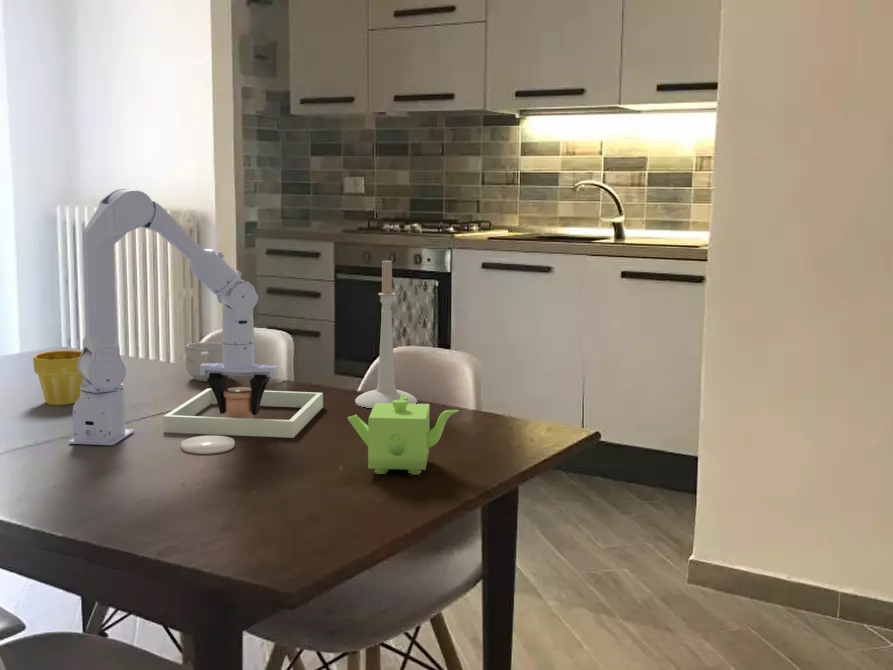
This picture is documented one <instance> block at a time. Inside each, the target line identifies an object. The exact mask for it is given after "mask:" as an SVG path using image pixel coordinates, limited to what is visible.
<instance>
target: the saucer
mask: <svg viewBox="0 0 893 670" xmlns="http://www.w3.org/2000/svg"><path fill="white" fill-rule="evenodd" d="M235 444H236V443H235V439H234V438H233V437H229V436H227V435H215V434H208V435H199V436H192V437H189V438H187V439H184V440H182V441H181V443H180V449H181V450H182V452H185V453H190V454H196V455H198V454H199V455H210V454H211V455H212V454H218V453H219V454H220V453H224V452H228V451H230V450H233V449H234V448H235V447H236V445H235Z"/></svg>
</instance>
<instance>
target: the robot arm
mask: <svg viewBox="0 0 893 670" xmlns="http://www.w3.org/2000/svg"><path fill="white" fill-rule="evenodd" d="M140 228H142V229H147V230H150V231H153V232H156V233H158V234H159V235H160V236H161V237H162V238H163V239H164V240H166V242H168V244H170V245H171V246H172V247H173V248H175V250H176V251H178V252H179V253H180V254H181V255H183V256H184V258H186V259H187V260H188V261H189V269H190V273H192V275H194V276H195V278H197V279H198V280H199V281H200V282H201V283H202V284H203V285H204V286H205V287H206V288H207V289H209V291H211V292H212V293H213V295H216V298H217V301H218V302H219V303H220V304H222V306H221V307H222V310H221V311H222V312H221V313H222V318H221V319H222V320H221V326H222V329H221V330H222V343H223V363H203V364H201V365H200V375H209V378H208V379H207V381H206V382H207V383H208V385H209V387H210V388H211V389H212V391H213V393H214V395H215V397H216V400H217V403H218V404H217V406H218V410H219V413H220V414H226V398H225V397H224V396H223V391H224V390H225V389H228V386H227V385H228V375H229V376H234V377H235V376H237V377H238V376H239V377H241V376H242V377H252V378H251V379H250V380H249V384H250V388H251V392H252V415H253V416H257V415H258V414H260V407H261V406H260V402H261V399H262V395H263V393H264V391H266V387H267V386H268V383H269V382H270V378H272V379H275V378H276V377H278V376H279V375H278V374H279V373H278V367H279V366H278V365H268V364H267V365H266V364H260V363H255V350H254V349H255V347H254V346H255V345H254V342H255V341H254V337H255V336H254V308H255V306H256V305H257V304H258V301H259V295H258V294H257V291H256V288H255V286H254V285H253V284H252V283H251V282H249V281H247V280H245V279H241V278H242V277H241V276H242V273H241V271H239V270H235V269H234V268H233V267H232V266H231V265H230V264H229V263H228V262H227V261H225V259H224V258H225V254H223V253H222V252H221V251H218V250H217V251H215V249H213V248H202V247H201V246H200V244H199V243H198V242H196V240H195V239H194V238H193V237H192V236H191V235H190V234H189V233H188V232H187V231H186V230H185V229H184V228H183V226H182V225H180V223H178V222H177V221H176V220H175V218H174V217H173V216H172V215H171V214H170V213H169V212H168V211H167V210H166V209H164V207H163V206H161V205H160V204H159V203H157V202H156V201H155V200H154V201H153V200H152V199H151V198H150V196H149V195H148V194H147V193H145V192H144V191H141V190H137V189H136V190H135V189H132V190H130V189H126V188H119V189H116V190H113V191H111V192H110V193H109V194H108V195H106V196H105V197H103V198H102V199H101V200H100V201H99V203H98V207H97V208H96V210H95V211H94V213H93V214H92V216H91V218H90V220H89V221H88V223H87V225H86V226H85V228H84V230H83V234H82V237H83V239H82V241H83V246H82V247H83V278H84V279H83V280H84V309H85V311H84V313H85V316H84V317H85V336H84V338H83V340H82V350H81V351H82V353H81V356H80V357H79V360H78V370H79V372H80V374H81V375H82V376H83V377H84V380H83V382H82V384H81V385H80V389H81V395H80V398H79V399H78V400H77V401H76V402H75V403H73V408H72V429H73V431H72V432H73V438H72V439H70V440H68V443H69V444H72V445H93V446H95V445H97V446H114V445H116V444H117V443H118V442H120V441H122V440H123V439H125V438H127V437H129V436H130V435H131V434H133V433H134V432H135V429H133V428H132V429H131V428H126V418H125V417H126V414H125V388H124V386H125V385H124V383H123V382H124V380H125V378H126V373H127V369H126V366H125V363H124V362H123V360H122V358H121V352H120V350H121V349H120V345H119V341H118V338H117V334H116V333H117V323H116V322H117V321H116V320H117V318H116V290H115V289H116V282H115V251H114V250H115V244H117V242H119V241H120V240H121V239H122V238H123V237H125V236H126V235H127V234H128V233H130V232H132V231H134V230H137V229H140Z"/></svg>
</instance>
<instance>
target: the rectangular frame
mask: <svg viewBox="0 0 893 670" xmlns="http://www.w3.org/2000/svg"><path fill="white" fill-rule="evenodd" d="M323 398H324V392H317V391H316V392H315V391H314V392H312V391H311V392H310V391H309V392H308V391H286V390H284V391H283V390H264V393H263V395H262V399H261V402H260V407H281V408H300V409H299V410H298V411H297V412H296V413H295V414H294V415H293V416H292V417H291V418H290V419H272V418H254V417H253V418H228V417H226V416H225V417H224V416H223V417H222V416H201V415H198V413H200V412H202V411H203V410H205V409H206V408H207V407H209V406H210V405H218V403H217V400H216V397H215V395H214V393H213V391H212V389H211V387H210V388H206V389H205V390H203V391H201V392H199V393H198V394H196V395H195V396H192V398H190V399H188V400H187V401H186V402H184V403H182V404H181V405H179V406H177V407H176V408H174V409H173V410H171V411H170V412H168V413H166V414H165V415H163V433H167V434H169V433H172V434H173V433H174V434H193V435H195V434H197V435H215V436H239V437H240V436H241V437H244V436H245V437H266V438H289V439H290V438H291V439H293V438H294V439H295V437H296V436H297V435H298V434H299V433H300V432H301V431H302V429H304V427H305V426H307V424H308V423H309V422H310V421H311V420H312V419H313V418H314V417H315V416H316V415H317V414H319V412H320V411H321V410H322V409H323V408H324V399H323ZM197 415H198V416H197Z"/></svg>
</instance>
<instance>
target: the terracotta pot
mask: <svg viewBox="0 0 893 670" xmlns="http://www.w3.org/2000/svg"><path fill="white" fill-rule="evenodd" d="M223 396H224V397H225V398H226V412H225V417H228V418H253V419H254V415H252V392H251V387H241V386H239V387H230V388H227V389H225V390H224V391H223Z"/></svg>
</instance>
